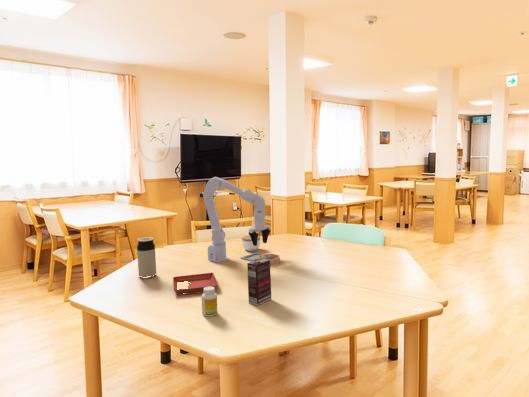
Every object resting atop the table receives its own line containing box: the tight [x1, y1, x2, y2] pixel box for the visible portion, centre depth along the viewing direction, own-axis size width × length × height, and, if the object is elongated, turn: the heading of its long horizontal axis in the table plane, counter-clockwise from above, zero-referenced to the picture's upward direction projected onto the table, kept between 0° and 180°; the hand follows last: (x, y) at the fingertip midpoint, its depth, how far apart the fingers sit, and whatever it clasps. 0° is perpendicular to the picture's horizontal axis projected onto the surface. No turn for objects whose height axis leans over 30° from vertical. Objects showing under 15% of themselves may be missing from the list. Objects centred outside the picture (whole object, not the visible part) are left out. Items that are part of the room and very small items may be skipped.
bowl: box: [258, 253, 281, 266], centre depth 208 cm, size 11×11×3 cm
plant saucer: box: [172, 272, 219, 295], centre depth 173 cm, size 18×18×3 cm
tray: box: [240, 252, 263, 262], centre depth 216 cm, size 12×9×1 cm
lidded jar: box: [241, 235, 261, 252], centre depth 233 cm, size 11×11×9 cm
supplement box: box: [246, 258, 272, 307], centre depth 154 cm, size 9×5×16 cm, turn 141°
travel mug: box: [136, 236, 157, 277], centre depth 189 cm, size 8×8×18 cm
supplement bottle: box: [201, 286, 218, 317], centre depth 143 cm, size 5×5×10 cm
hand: (259, 244), depth 215 cm, fingers open, 7 cm apart
